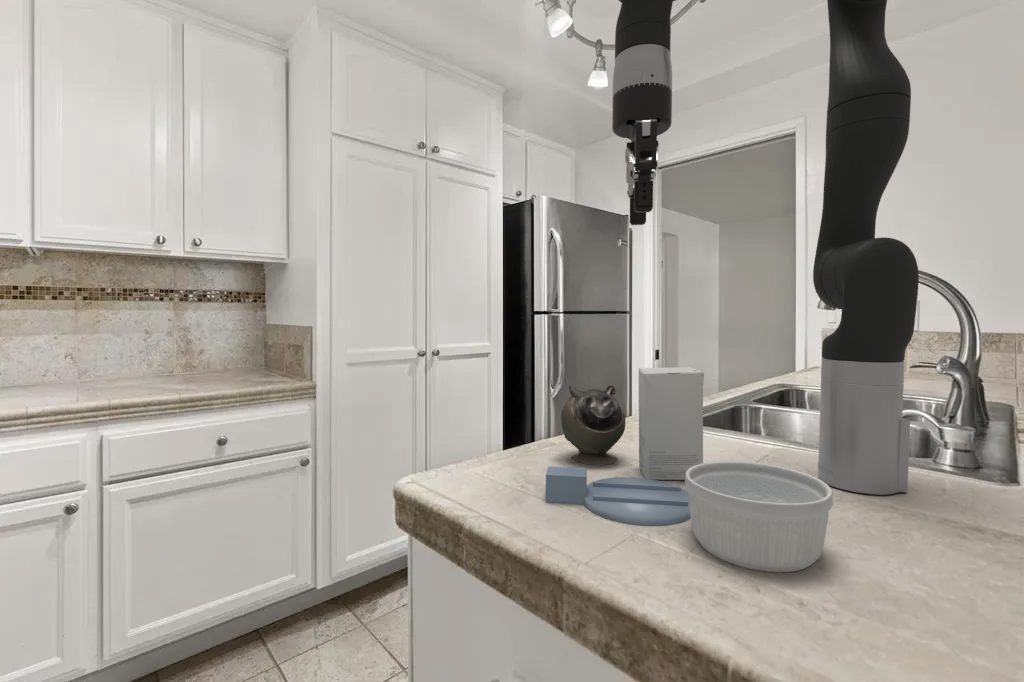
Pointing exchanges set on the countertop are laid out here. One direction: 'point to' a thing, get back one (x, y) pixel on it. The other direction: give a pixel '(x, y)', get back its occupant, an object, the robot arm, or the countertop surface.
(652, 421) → the skincare box
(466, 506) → the countertop surface
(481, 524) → the countertop surface
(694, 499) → the ramekin
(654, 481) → the lid
